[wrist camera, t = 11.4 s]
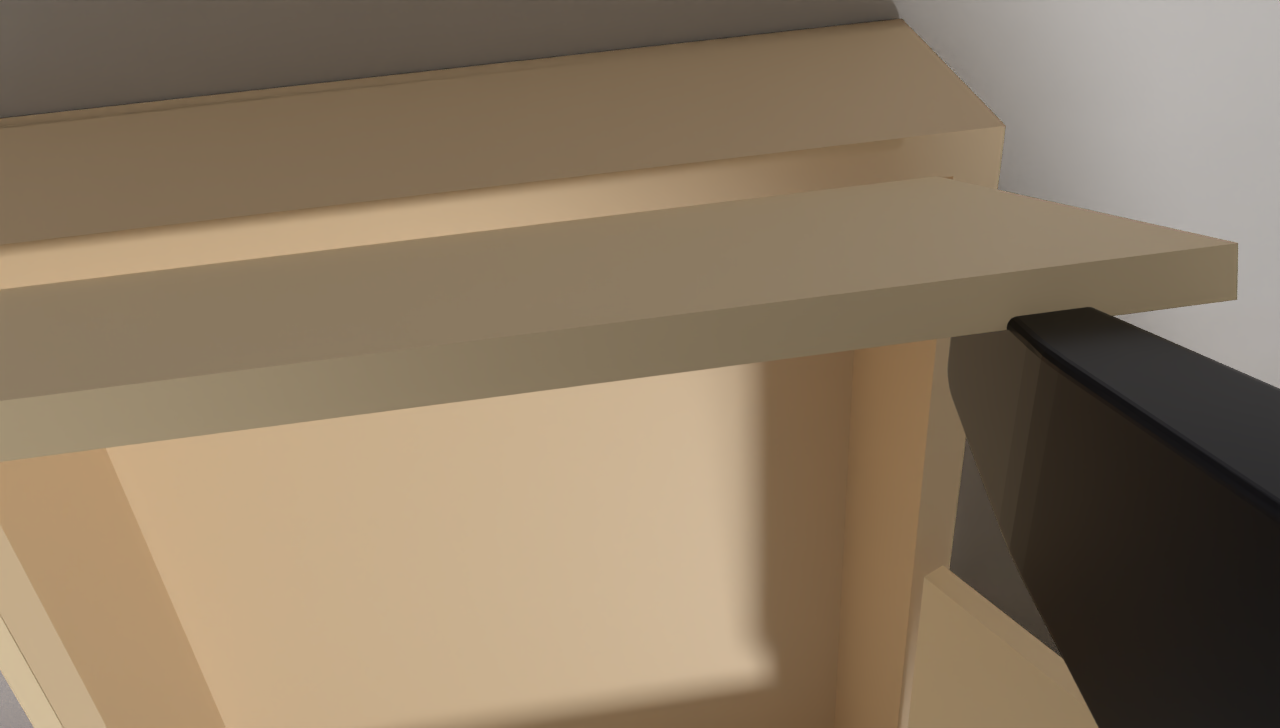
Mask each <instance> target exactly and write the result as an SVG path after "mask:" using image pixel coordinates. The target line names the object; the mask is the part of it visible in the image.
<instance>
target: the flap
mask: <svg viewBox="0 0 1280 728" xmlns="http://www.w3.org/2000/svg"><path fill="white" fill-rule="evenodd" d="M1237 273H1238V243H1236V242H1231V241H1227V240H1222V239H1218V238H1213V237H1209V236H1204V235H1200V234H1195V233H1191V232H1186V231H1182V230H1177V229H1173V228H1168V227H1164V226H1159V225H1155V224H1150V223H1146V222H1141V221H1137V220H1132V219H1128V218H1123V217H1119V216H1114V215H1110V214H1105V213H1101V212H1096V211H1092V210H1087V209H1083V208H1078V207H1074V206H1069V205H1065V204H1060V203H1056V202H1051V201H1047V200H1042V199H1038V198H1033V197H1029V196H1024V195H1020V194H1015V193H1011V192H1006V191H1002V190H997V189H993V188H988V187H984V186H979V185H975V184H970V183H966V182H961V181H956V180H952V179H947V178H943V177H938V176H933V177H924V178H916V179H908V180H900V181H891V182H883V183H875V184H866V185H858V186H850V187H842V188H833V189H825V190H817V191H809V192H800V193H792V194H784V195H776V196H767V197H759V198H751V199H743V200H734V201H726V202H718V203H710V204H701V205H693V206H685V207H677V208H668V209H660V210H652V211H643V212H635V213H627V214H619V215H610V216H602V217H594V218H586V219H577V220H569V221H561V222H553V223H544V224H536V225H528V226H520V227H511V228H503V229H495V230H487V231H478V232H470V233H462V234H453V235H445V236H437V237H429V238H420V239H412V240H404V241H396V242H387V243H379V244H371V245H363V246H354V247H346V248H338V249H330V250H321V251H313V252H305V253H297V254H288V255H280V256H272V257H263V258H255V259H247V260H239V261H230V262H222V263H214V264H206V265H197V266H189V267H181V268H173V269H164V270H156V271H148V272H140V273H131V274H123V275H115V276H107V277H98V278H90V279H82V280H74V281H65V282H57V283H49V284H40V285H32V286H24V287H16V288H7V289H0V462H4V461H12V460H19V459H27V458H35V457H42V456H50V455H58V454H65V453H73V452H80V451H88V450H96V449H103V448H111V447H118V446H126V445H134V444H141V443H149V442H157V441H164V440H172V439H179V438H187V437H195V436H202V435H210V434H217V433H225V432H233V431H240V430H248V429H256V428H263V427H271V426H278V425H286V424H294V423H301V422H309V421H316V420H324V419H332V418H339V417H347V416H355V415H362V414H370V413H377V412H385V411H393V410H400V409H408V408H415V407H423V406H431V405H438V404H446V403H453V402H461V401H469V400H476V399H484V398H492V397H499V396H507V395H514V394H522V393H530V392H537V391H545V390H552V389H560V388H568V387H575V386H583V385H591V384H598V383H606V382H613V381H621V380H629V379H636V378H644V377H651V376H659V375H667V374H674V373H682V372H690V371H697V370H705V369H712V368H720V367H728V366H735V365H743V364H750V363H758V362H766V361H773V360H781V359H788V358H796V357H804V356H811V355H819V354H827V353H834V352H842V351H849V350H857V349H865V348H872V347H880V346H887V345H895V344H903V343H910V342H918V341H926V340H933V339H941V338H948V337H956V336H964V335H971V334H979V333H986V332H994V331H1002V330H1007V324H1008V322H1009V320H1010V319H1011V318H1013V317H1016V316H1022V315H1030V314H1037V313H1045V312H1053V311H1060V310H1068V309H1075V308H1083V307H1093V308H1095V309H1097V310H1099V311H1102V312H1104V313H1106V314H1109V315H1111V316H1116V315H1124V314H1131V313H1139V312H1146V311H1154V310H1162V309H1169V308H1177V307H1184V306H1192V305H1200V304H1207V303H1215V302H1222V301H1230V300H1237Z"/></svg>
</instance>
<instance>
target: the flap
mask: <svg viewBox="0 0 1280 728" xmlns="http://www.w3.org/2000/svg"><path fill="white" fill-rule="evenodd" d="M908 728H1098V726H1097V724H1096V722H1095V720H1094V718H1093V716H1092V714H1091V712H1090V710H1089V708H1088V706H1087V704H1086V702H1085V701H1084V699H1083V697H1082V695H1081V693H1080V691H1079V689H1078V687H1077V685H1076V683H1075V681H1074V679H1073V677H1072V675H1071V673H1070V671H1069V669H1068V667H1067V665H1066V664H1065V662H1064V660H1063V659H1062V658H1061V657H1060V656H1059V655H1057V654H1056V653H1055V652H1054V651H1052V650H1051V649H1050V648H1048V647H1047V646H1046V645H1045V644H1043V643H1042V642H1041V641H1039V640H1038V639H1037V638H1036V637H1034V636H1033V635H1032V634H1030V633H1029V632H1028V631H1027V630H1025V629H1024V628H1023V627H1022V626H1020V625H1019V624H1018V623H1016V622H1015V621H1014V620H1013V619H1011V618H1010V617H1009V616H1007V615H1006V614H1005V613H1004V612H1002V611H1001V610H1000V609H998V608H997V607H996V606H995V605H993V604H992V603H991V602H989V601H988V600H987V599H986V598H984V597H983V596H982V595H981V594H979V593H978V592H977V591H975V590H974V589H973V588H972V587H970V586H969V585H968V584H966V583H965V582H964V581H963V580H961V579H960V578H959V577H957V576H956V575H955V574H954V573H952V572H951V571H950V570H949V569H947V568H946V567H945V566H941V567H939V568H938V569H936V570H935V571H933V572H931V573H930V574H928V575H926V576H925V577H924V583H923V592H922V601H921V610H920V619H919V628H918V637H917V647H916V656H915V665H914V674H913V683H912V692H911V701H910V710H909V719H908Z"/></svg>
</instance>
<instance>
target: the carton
mask: <svg viewBox="0 0 1280 728" xmlns="http://www.w3.org/2000/svg"><path fill="white" fill-rule="evenodd" d="M1005 127H1006V126H1005V125H1004V124H1003V122H1002V121H1001V120H1000V119H999V118H998V117H997V116H996V115H995V114H994V113H993V112H992V111H991V110H990V109H989V108H988V107H987V106H986V105H985V104H984V103H983V102H982V101H981V100H980V99H979V98H978V97H977V96H976V95H975V94H974V93H973V92H972V91H971V90H970V88H969V87H968V86H967V85H966V84H965V83H964V82H963V81H962V80H961V79H960V78H959V77H958V76H957V75H956V74H955V73H954V72H953V71H952V70H951V69H950V68H949V67H948V66H947V65H946V64H945V63H944V62H943V61H942V60H941V59H940V58H939V57H938V56H937V54H936V53H935V52H934V51H933V50H932V49H931V48H930V47H929V46H928V45H927V44H926V43H925V42H924V41H923V40H922V39H921V38H920V37H919V36H918V35H917V34H916V33H915V32H914V31H913V30H912V29H911V28H910V27H909V26H908V25H907V24H906V23H905V22H904V20H903V19H893V20H884V21H875V22H866V23H857V24H848V25H839V26H830V27H821V28H812V29H803V30H794V31H785V32H776V33H767V34H758V35H749V36H740V37H731V38H722V39H713V40H704V41H695V42H686V43H677V44H668V45H659V46H650V47H641V48H632V49H623V50H614V51H605V52H596V53H586V54H577V55H568V56H559V57H550V58H541V59H532V60H523V61H514V62H505V63H496V64H487V65H478V66H469V67H460V68H451V69H442V70H433V71H424V72H415V73H406V74H397V75H388V76H379V77H370V78H361V79H352V80H343V81H334V82H325V83H316V84H307V85H298V86H289V87H280V88H271V89H262V90H253V91H244V92H235V93H226V94H217V95H208V96H199V97H190V98H181V99H172V100H163V101H154V102H145V103H136V104H127V105H118V106H109V107H100V108H90V109H81V110H72V111H63V112H54V113H45V114H36V115H27V116H18V117H9V118H0V289H7V288H16V287H24V286H32V285H40V284H49V283H57V282H65V281H74V280H82V279H90V278H98V277H107V276H115V275H123V274H131V273H140V272H148V271H156V270H164V269H173V268H181V267H189V266H197V265H206V264H214V263H222V262H230V261H239V260H247V259H255V258H263V257H272V256H280V255H288V254H297V253H305V252H313V251H321V250H330V249H338V248H346V247H354V246H363V245H371V244H379V243H387V242H396V241H404V240H412V239H420V238H429V237H437V236H445V235H453V234H462V233H470V232H478V231H487V230H495V229H503V228H511V227H520V226H528V225H536V224H544V223H553V222H561V221H569V220H577V219H586V218H594V217H602V216H610V215H619V214H627V213H635V212H643V211H652V210H660V209H668V208H677V207H685V206H693V205H701V204H710V203H718V202H726V201H734V200H743V199H751V198H759V197H767V196H776V195H784V194H792V193H800V192H809V191H817V190H825V189H833V188H842V187H850V186H858V185H866V184H875V183H883V182H891V181H900V180H908V179H916V178H924V177H933V176H938V177H943V178H947V179H952V180H956V181H961V182H966V183H970V184H975V185H979V186H984V187H988V188H993V189H997V190H998V182H999V174H1000V166H1001V159H1002V151H1003V143H1004V135H1005ZM950 338H951V337H948V338H941V339H933V340H926V341H918V342H910V343H903V344H895V345H887V346H880V347H872V348H865V349H857V350H849V351H842V352H834V353H827V354H819V355H811V356H804V357H796V358H788V359H781V360H773V361H766V362H758V363H750V364H743V365H735V366H728V367H720V368H712V369H705V370H697V371H690V372H682V373H674V374H667V375H659V376H651V377H644V378H636V379H629V380H621V381H613V382H606V383H598V384H591V385H583V386H575V387H568V388H560V389H552V390H545V391H537V392H530V393H522V394H514V395H507V396H499V397H492V398H484V399H476V400H469V401H461V402H453V403H446V404H438V405H431V406H423V407H415V408H408V409H400V410H393V411H385V412H377V413H370V414H362V415H355V416H347V417H339V418H332V419H324V420H316V421H309V422H301V423H294V424H286V425H278V426H271V427H263V428H256V429H248V430H240V431H233V432H225V433H217V434H210V435H202V436H195V437H187V438H179V439H172V440H164V441H157V442H149V443H141V444H134V445H126V446H118V447H111V448H103V449H96V450H88V451H80V452H73V453H65V454H58V455H50V456H42V457H35V458H27V459H19V460H12V461H4V462H0V670H1V672H2V674H3V675H4V677H5V679H6V681H7V682H8V684H9V686H10V687H11V689H12V691H13V693H14V694H15V696H16V698H17V699H18V701H19V703H20V705H21V706H22V708H23V710H24V711H25V713H26V715H27V717H28V718H29V720H30V722H31V723H32V725H33V727H34V728H908V719H909V710H910V701H911V692H912V683H913V674H914V665H915V656H916V647H917V637H918V628H919V619H920V610H921V601H922V592H923V583H924V577H925V576H926V575H928V574H930V573H931V572H933V571H935V570H936V569H938V568H939V567H941V566H945V567H946V568H947V569H949V568H950V560H951V553H952V545H953V537H954V529H955V521H956V513H957V505H958V497H959V490H960V482H961V474H962V466H963V458H964V450H965V442H966V435H965V432H964V429H963V427H962V424H961V421H960V419H959V416H958V413H957V410H956V408H955V405H954V402H953V399H952V396H951V393H950V389H949V383H948V372H947V367H948V356H949V347H950Z"/></svg>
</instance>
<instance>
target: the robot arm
mask: <svg viewBox="0 0 1280 728" xmlns="http://www.w3.org/2000/svg"><path fill="white" fill-rule="evenodd" d="M947 372H948V383H949V389H950V393H951V396H952V399H953V402H954V405H955V408H956V410H957V413H958V416H959V419H960V421H961V424H962V427H963V429H964V432H965V435H966V438H967V440H968V443H969V446H970V449H971V451H972V454H973V457H974V460H975V462H976V465H977V468H978V470H979V473H980V476H981V479H982V481H983V484H984V487H985V490H986V492H987V495H988V498H989V501H990V503H991V506H992V509H993V511H994V514H995V517H996V520H997V522H998V525H999V528H1000V530H1001V533H1002V535H1003V538H1004V540H1005V543H1006V545H1007V548H1008V550H1009V553H1010V555H1011V557H1012V559H1013V561H1014V563H1015V565H1016V567H1017V569H1018V571H1019V574H1020V576H1021V578H1022V580H1023V582H1024V584H1025V586H1026V588H1027V589H1028V591H1029V593H1030V595H1031V597H1032V599H1033V601H1034V603H1035V605H1036V607H1037V609H1038V611H1039V613H1040V615H1041V617H1042V619H1043V621H1044V623H1045V625H1046V626H1047V628H1048V630H1049V632H1050V634H1051V636H1052V638H1053V640H1054V642H1055V644H1056V646H1057V648H1058V650H1059V652H1060V654H1061V656H1062V658H1063V660H1064V662H1065V664H1066V665H1067V667H1068V669H1069V671H1070V673H1071V675H1072V677H1073V679H1074V681H1075V683H1076V685H1077V687H1078V689H1079V691H1080V693H1081V695H1082V697H1083V699H1084V701H1085V702H1086V704H1087V706H1088V708H1089V710H1090V712H1091V714H1092V716H1093V718H1094V720H1095V722H1096V724H1097V726H1098V728H1280V389H1279V388H1277V387H1274V386H1272V385H1270V384H1268V383H1265V382H1263V381H1261V380H1258V379H1256V378H1254V377H1251V376H1249V375H1247V374H1245V373H1242V372H1240V371H1238V370H1235V369H1233V368H1231V367H1228V366H1226V365H1224V364H1222V363H1219V362H1217V361H1215V360H1212V359H1210V358H1208V357H1205V356H1203V355H1201V354H1198V353H1196V352H1194V351H1192V350H1189V349H1187V348H1185V347H1182V346H1180V345H1178V344H1175V343H1173V342H1171V341H1169V340H1166V339H1164V338H1162V337H1159V336H1157V335H1155V334H1152V333H1150V332H1148V331H1145V330H1143V329H1141V328H1139V327H1136V326H1134V325H1132V324H1129V323H1127V322H1125V321H1122V320H1120V319H1118V318H1116V317H1113V316H1111V315H1109V314H1106V313H1104V312H1102V311H1099V310H1097V309H1095V308H1093V307H1083V308H1075V309H1068V310H1060V311H1053V312H1045V313H1037V314H1030V315H1022V316H1016V317H1013V318H1011V319H1010V320H1009V322H1008V324H1007V330H1002V331H994V332H986V333H979V334H971V335H964V336H956V337H951V338H950V347H949V356H948V367H947Z"/></svg>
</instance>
